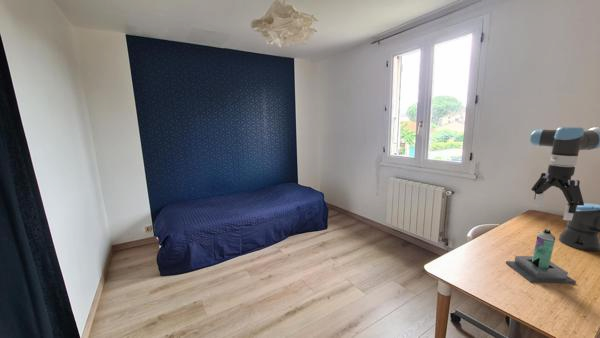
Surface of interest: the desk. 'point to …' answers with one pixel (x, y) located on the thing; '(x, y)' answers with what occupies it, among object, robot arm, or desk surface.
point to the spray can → (543, 249)
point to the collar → (539, 271)
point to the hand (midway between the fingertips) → (551, 213)
